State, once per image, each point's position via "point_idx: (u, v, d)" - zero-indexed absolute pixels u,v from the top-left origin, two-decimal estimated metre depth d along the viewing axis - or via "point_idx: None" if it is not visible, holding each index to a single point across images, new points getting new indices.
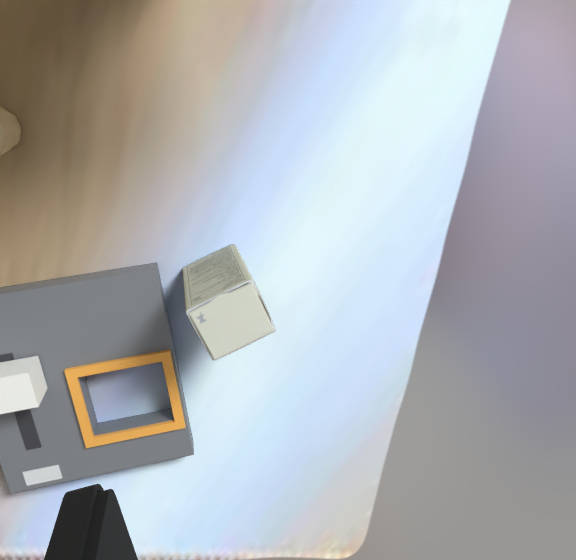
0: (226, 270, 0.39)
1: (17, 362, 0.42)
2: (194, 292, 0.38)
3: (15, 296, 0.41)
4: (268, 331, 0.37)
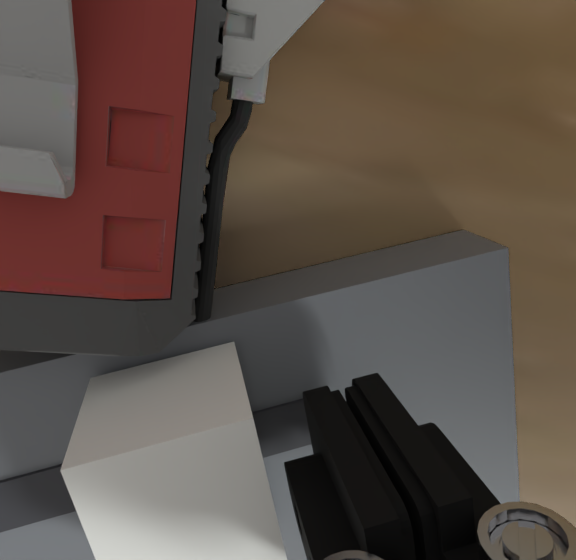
0: None
1: None
2: None
3: (503, 436, 0.14)
4: None
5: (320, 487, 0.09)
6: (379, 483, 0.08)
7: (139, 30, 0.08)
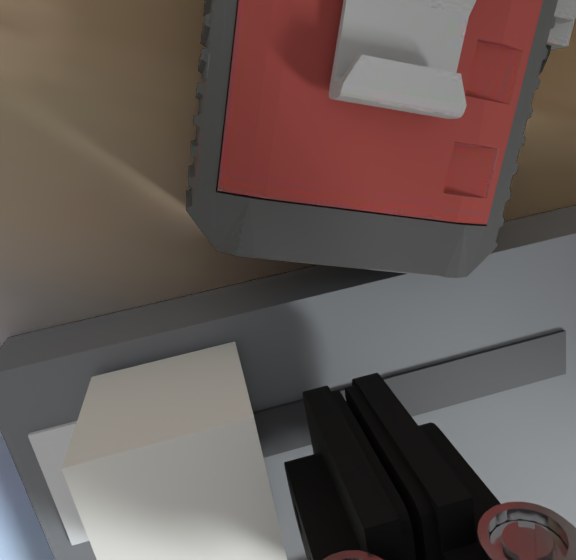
0: None
1: None
2: None
3: None
4: None
5: (320, 486, 0.09)
6: (379, 483, 0.08)
7: None
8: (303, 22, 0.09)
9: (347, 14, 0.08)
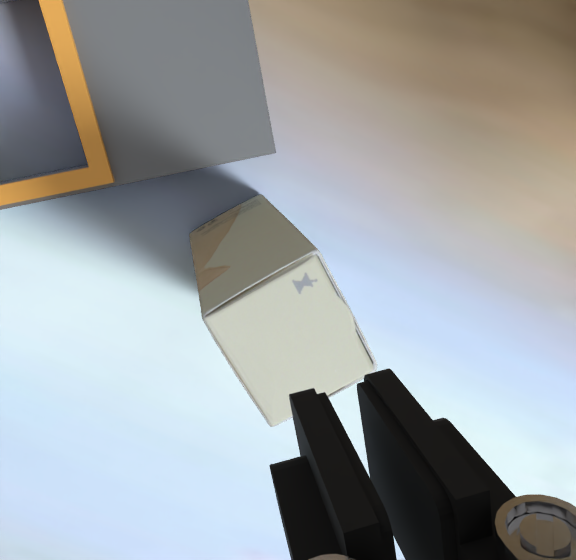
0: None
1: None
2: None
3: None
4: (271, 415, 0.18)
5: (305, 490, 0.09)
6: (360, 487, 0.08)
7: None
8: None
9: None
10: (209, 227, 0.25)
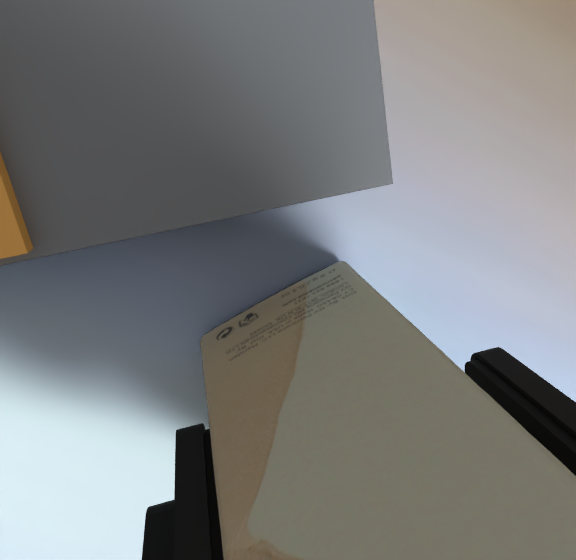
0: None
1: None
2: None
3: None
4: None
5: (172, 538, 0.09)
6: (209, 543, 0.07)
7: None
8: None
9: None
10: (243, 335, 0.12)
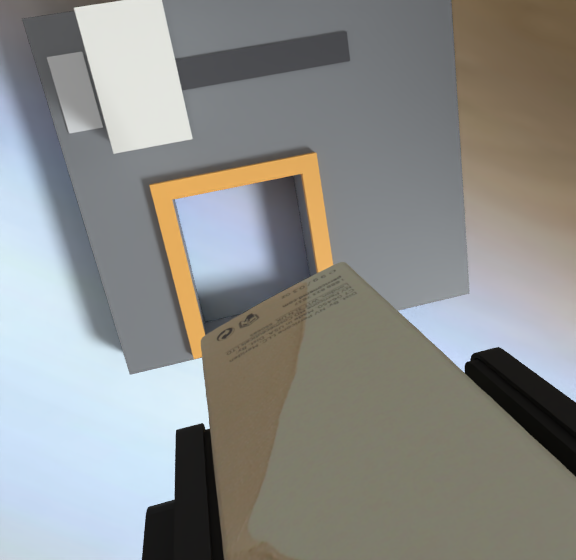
0: None
1: None
2: None
3: (448, 78, 0.25)
4: None
5: (172, 537, 0.09)
6: (208, 543, 0.07)
7: None
8: None
9: None
10: (243, 336, 0.12)
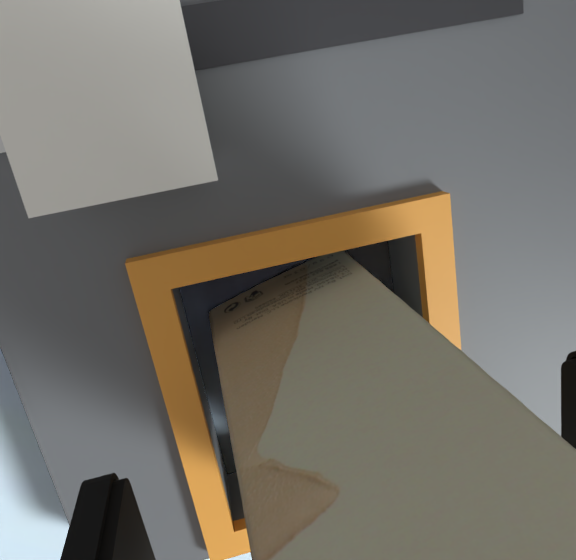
0: None
1: None
2: None
3: None
4: None
5: None
6: None
7: None
8: None
9: None
10: (249, 308, 0.13)
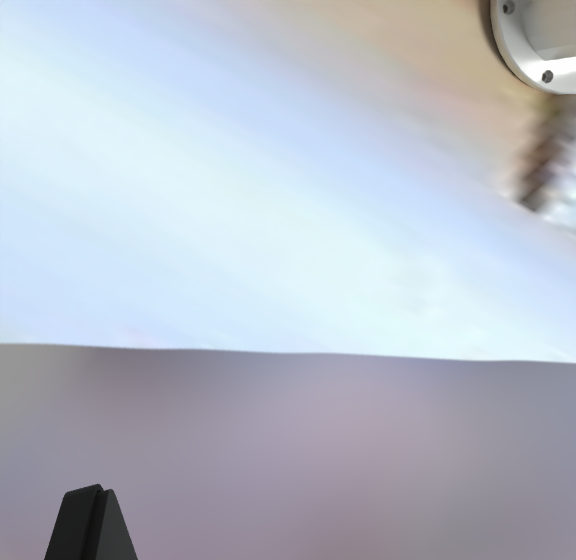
0: None
1: None
2: None
3: None
4: None
5: None
6: None
7: None
8: None
9: None
10: None
